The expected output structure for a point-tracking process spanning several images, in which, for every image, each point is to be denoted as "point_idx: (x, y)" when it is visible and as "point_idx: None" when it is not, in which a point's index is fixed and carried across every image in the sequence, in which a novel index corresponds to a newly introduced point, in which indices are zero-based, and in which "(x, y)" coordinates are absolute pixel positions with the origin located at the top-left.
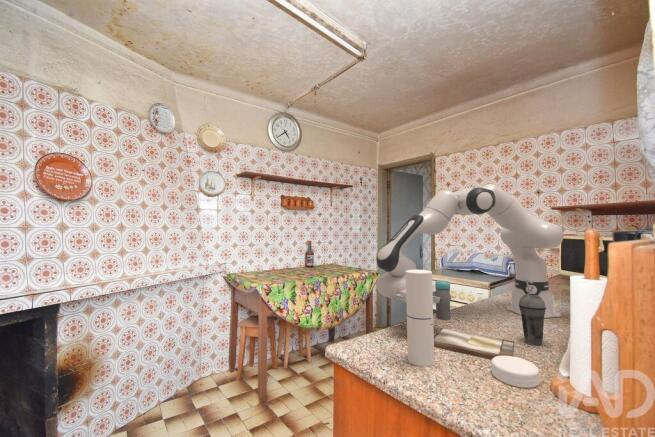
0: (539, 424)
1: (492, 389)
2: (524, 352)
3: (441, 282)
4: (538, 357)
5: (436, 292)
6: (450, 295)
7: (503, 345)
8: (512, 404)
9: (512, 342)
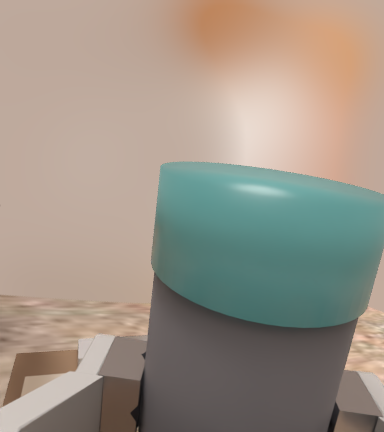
0: (368, 312)
1: (365, 361)
2: (76, 342)
3: (330, 184)
4: (95, 320)
5: (342, 371)
6: (117, 336)
7: None
8: (367, 334)
9: (34, 355)
